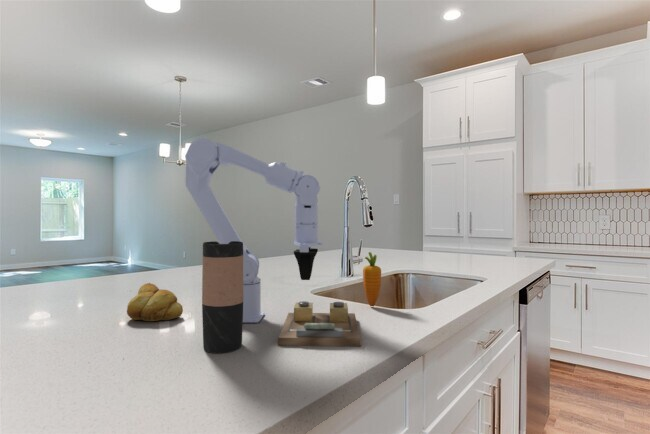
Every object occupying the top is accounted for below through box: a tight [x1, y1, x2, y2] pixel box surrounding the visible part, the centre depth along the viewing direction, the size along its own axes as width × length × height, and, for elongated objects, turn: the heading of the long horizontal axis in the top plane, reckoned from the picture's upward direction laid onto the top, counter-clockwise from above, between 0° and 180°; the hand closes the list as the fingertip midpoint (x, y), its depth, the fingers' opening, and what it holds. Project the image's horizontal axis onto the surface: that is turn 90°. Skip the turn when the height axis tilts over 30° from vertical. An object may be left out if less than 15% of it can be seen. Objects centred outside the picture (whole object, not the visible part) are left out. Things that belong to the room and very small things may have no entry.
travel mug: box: [201, 240, 244, 354], centre depth 71 cm, size 8×8×20 cm
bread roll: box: [126, 282, 184, 322], centre depth 90 cm, size 13×10×8 cm
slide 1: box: [293, 301, 314, 322], centre depth 85 cm, size 4×5×4 cm
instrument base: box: [277, 312, 362, 347], centre depth 81 cm, size 16×18×4 cm
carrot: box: [362, 251, 382, 307], centre depth 102 cm, size 5×5×15 cm
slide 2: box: [329, 301, 349, 322], centre depth 85 cm, size 4×5×4 cm
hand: (305, 278), depth 93 cm, fingers open, 3 cm apart
